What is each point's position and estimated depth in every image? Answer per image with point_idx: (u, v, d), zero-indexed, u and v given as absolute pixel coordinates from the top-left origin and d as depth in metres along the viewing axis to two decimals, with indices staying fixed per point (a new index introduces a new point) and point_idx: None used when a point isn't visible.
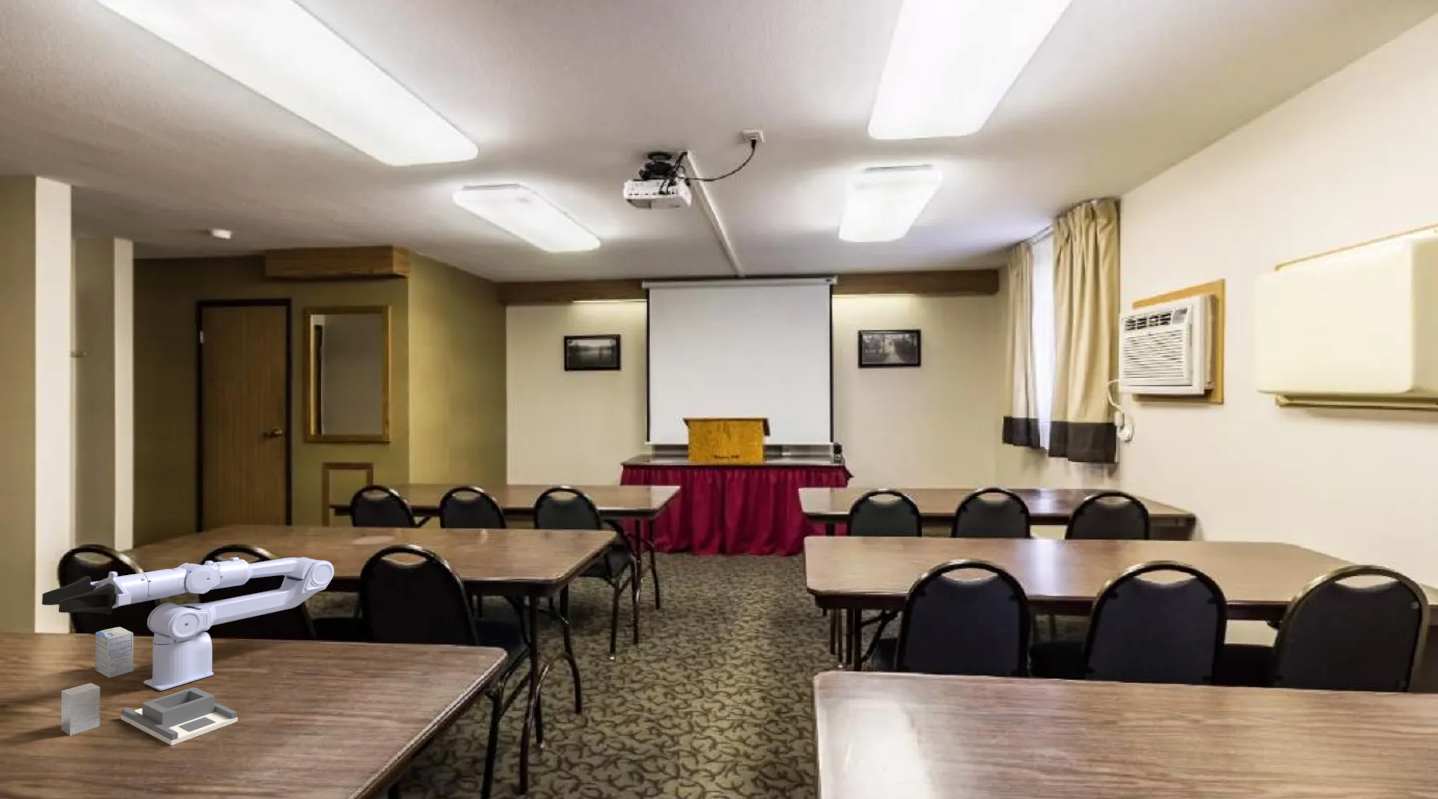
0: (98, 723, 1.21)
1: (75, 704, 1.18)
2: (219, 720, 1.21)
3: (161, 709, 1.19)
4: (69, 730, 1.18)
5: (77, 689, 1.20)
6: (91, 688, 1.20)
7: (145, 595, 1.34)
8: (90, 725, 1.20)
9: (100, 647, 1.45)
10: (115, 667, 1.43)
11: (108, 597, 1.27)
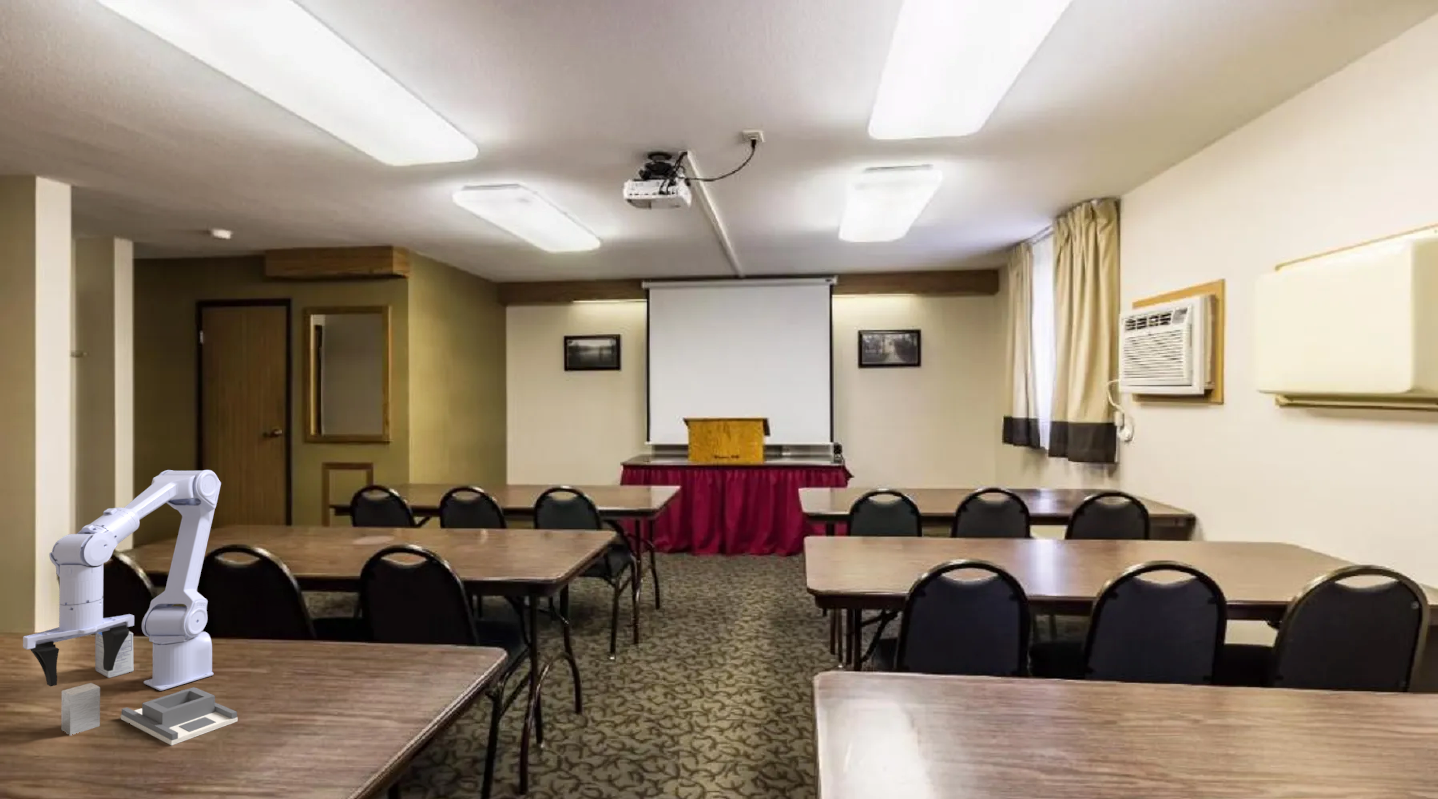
0: (98, 723, 1.21)
1: (75, 704, 1.18)
2: (219, 720, 1.21)
3: (161, 709, 1.19)
4: (69, 730, 1.18)
5: (77, 689, 1.20)
6: (91, 688, 1.20)
7: None
8: (90, 724, 1.20)
9: (100, 647, 1.44)
10: (115, 667, 1.43)
11: None
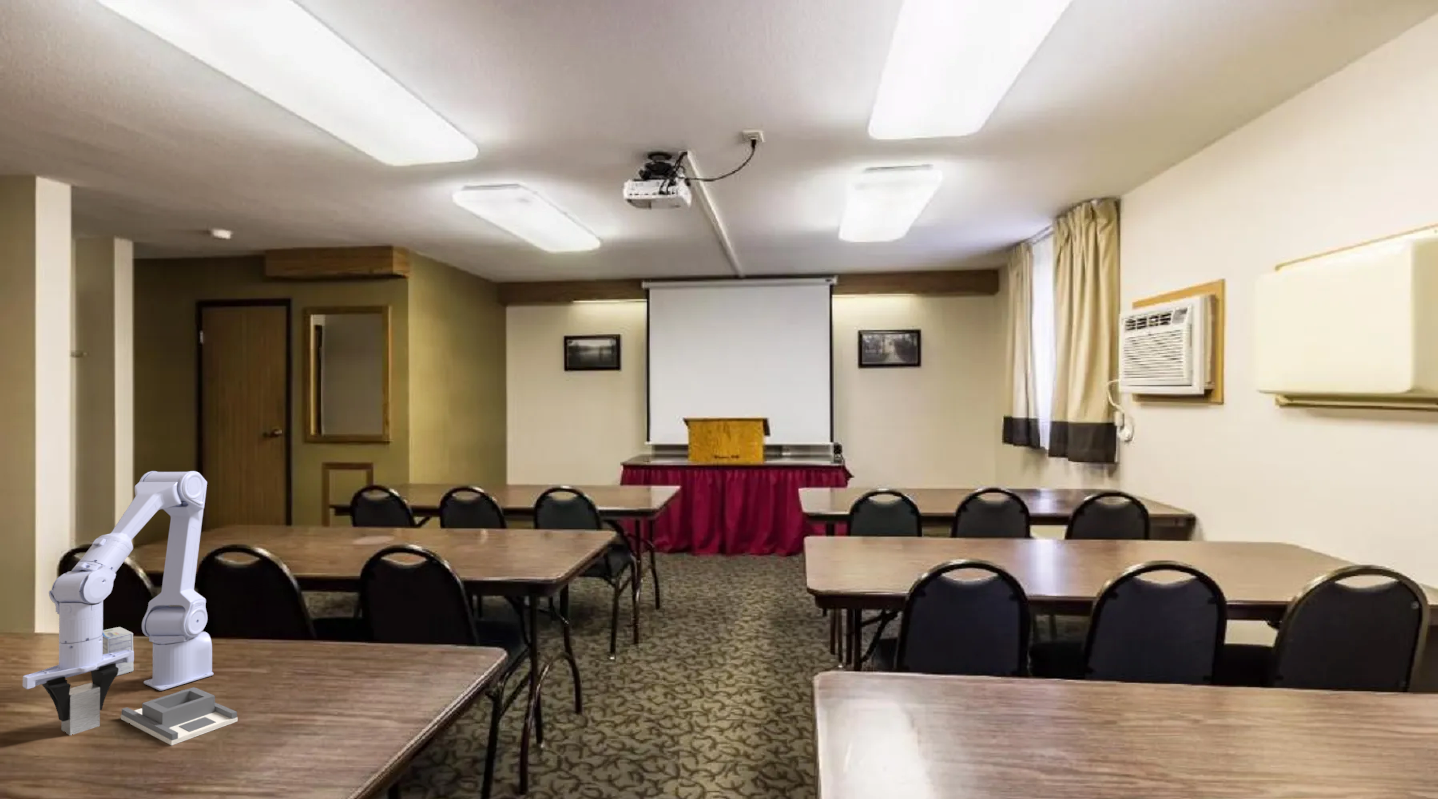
0: (98, 723, 1.21)
1: (75, 704, 1.18)
2: (219, 720, 1.21)
3: (161, 709, 1.19)
4: (69, 730, 1.18)
5: (77, 689, 1.20)
6: (91, 688, 1.20)
7: None
8: (90, 724, 1.20)
9: None
10: None
11: None
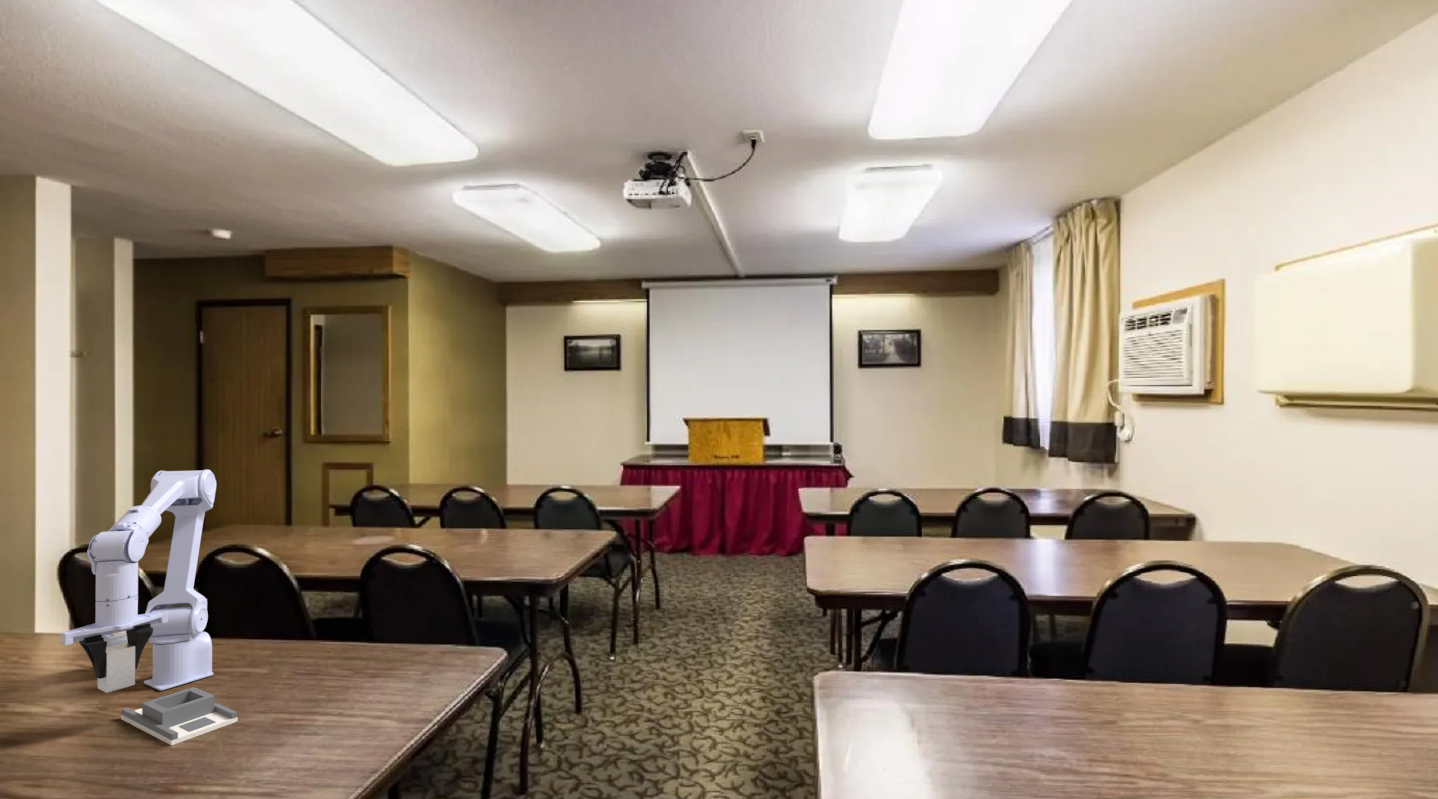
0: (133, 682, 1.22)
1: (112, 662, 1.19)
2: (219, 720, 1.21)
3: (161, 709, 1.19)
4: (105, 687, 1.19)
5: (113, 648, 1.21)
6: (126, 647, 1.21)
7: None
8: (125, 683, 1.21)
9: None
10: None
11: None
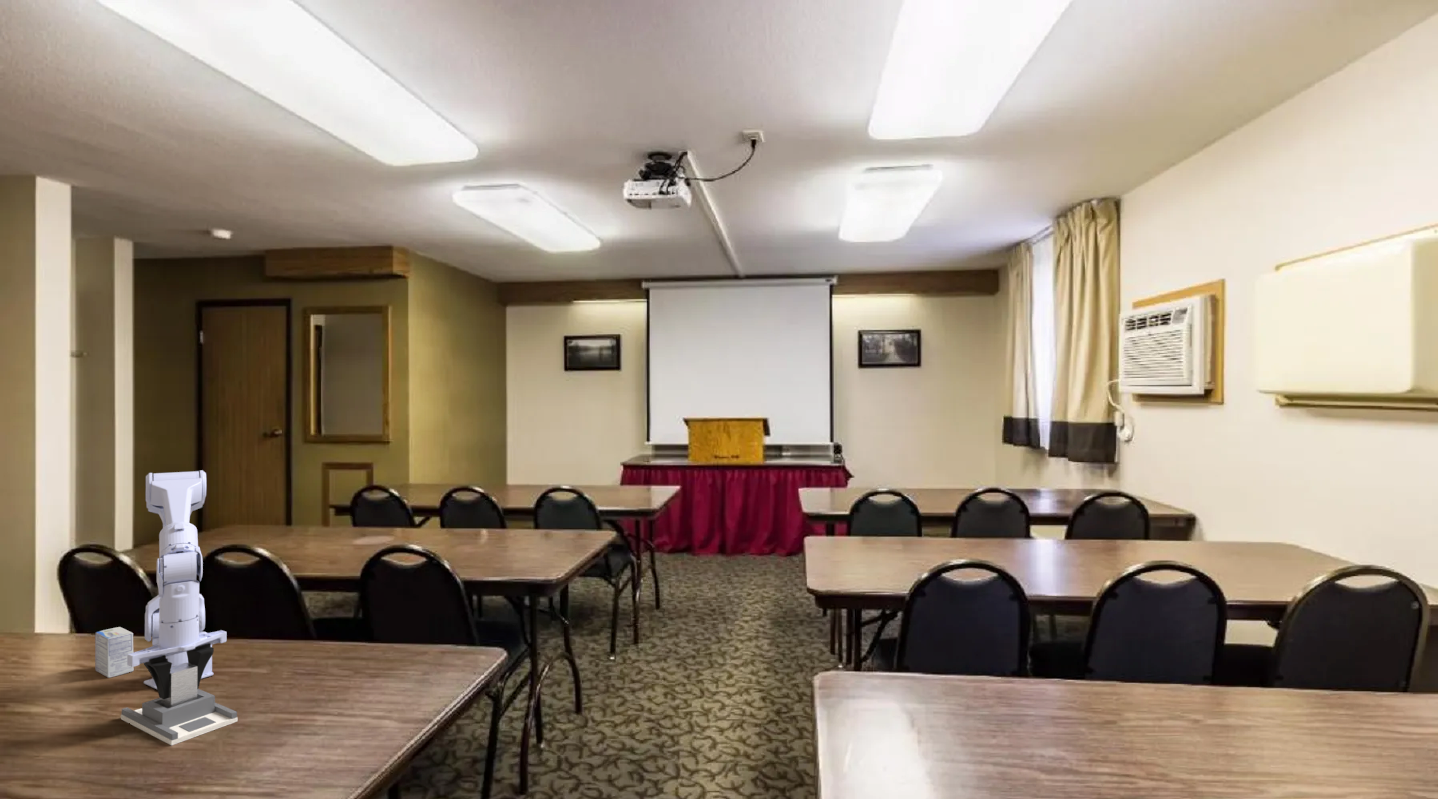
0: None
1: (176, 683, 1.21)
2: (219, 720, 1.21)
3: (161, 709, 1.19)
4: (170, 707, 1.20)
5: (176, 668, 1.22)
6: (189, 667, 1.23)
7: None
8: None
9: (100, 647, 1.44)
10: (115, 667, 1.43)
11: None
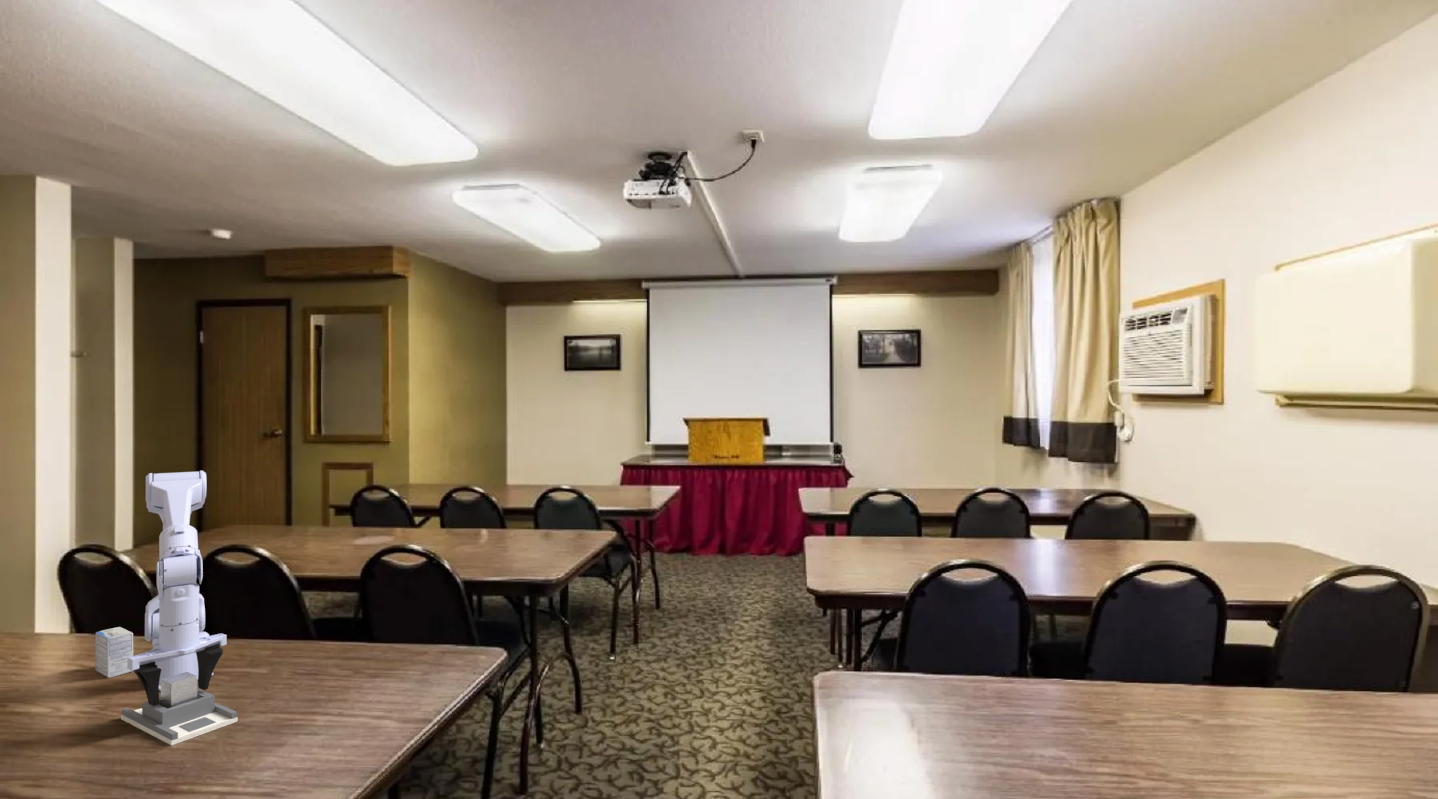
0: None
1: (176, 692, 1.21)
2: (219, 720, 1.21)
3: (161, 709, 1.19)
4: None
5: (176, 678, 1.22)
6: (189, 677, 1.23)
7: None
8: None
9: (100, 647, 1.45)
10: (115, 667, 1.43)
11: None
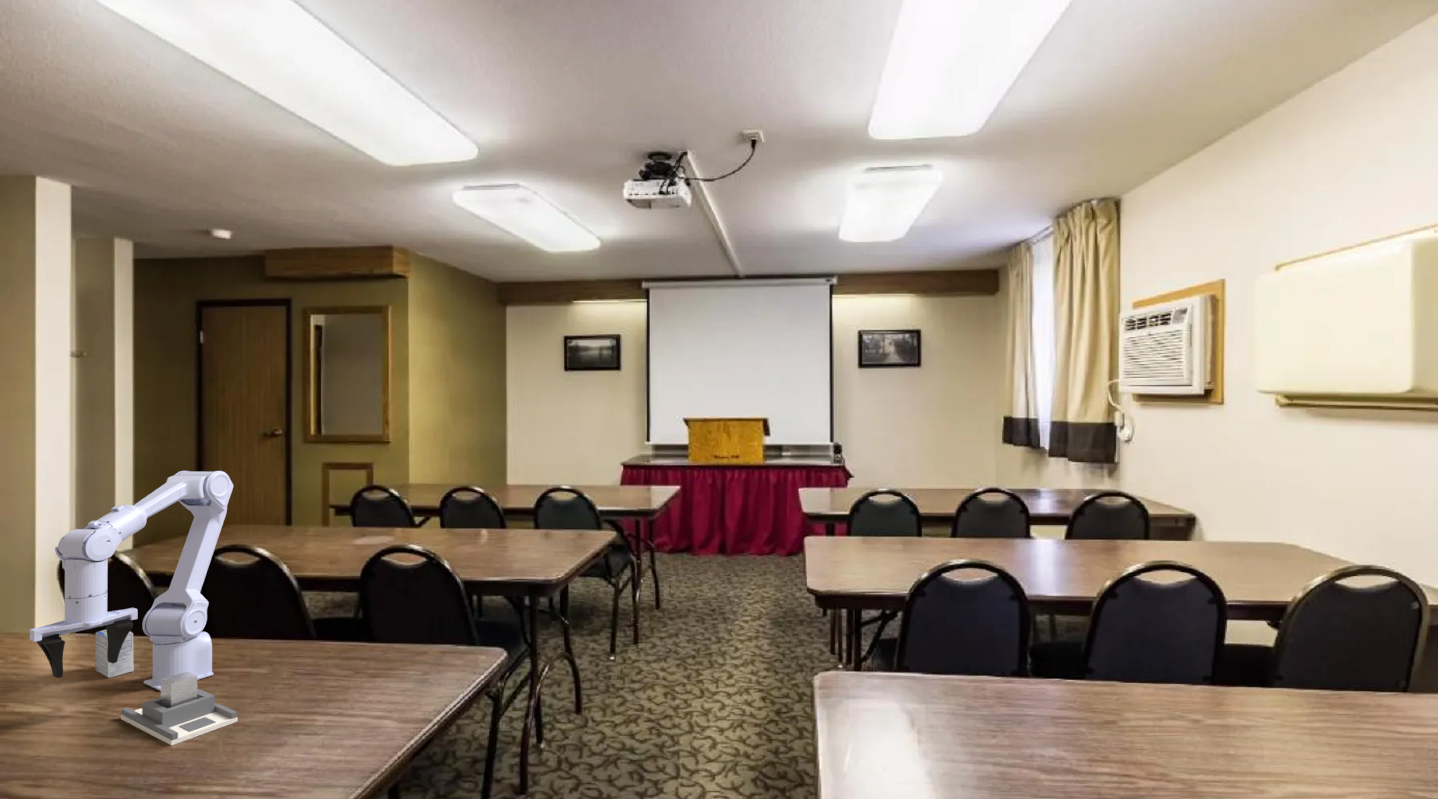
0: None
1: (176, 692, 1.21)
2: (219, 720, 1.21)
3: (161, 709, 1.19)
4: None
5: (176, 678, 1.22)
6: (189, 677, 1.23)
7: None
8: None
9: (100, 647, 1.45)
10: (115, 667, 1.43)
11: None
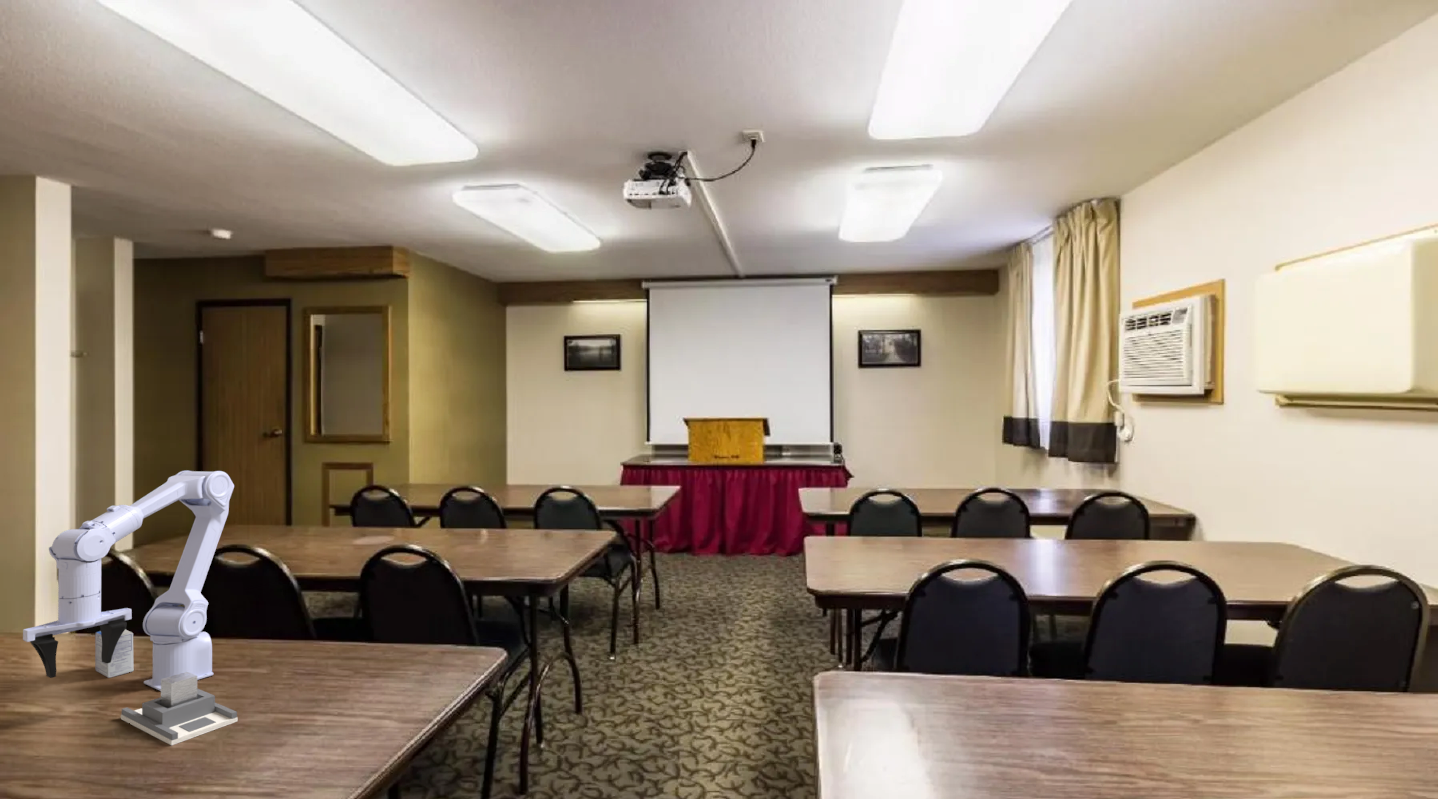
0: None
1: (176, 692, 1.21)
2: (219, 720, 1.21)
3: (161, 709, 1.19)
4: None
5: (176, 678, 1.22)
6: (189, 677, 1.23)
7: None
8: None
9: (100, 647, 1.45)
10: (115, 667, 1.43)
11: None
